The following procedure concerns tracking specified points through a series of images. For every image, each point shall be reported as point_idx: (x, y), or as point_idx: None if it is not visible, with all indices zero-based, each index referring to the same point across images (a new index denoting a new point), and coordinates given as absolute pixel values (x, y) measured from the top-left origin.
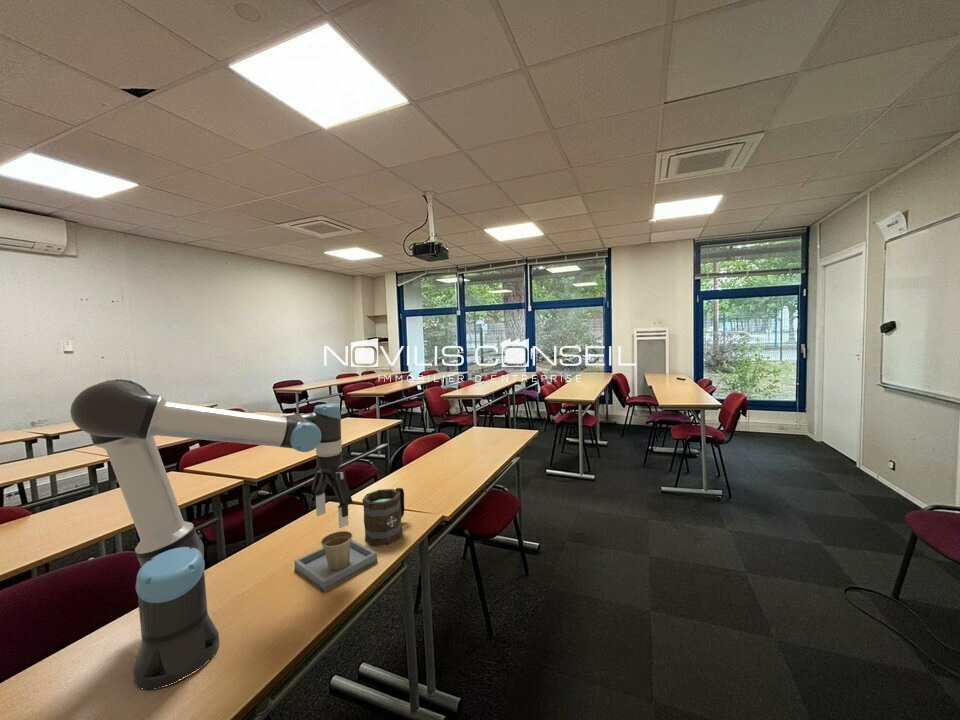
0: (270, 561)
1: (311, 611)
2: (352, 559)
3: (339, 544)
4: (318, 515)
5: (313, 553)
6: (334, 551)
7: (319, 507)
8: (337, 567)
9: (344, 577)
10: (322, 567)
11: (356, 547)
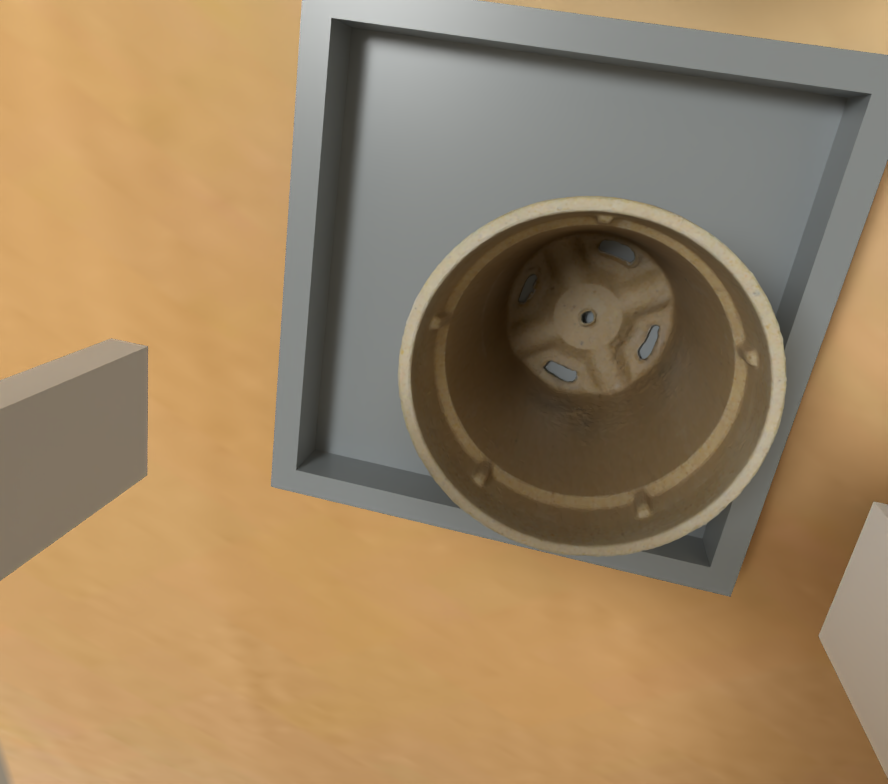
0: None
1: (786, 695)
2: (639, 198)
3: (505, 261)
4: (140, 465)
5: (305, 358)
6: (663, 476)
7: (50, 506)
8: (647, 387)
9: None
10: None
11: (553, 53)
